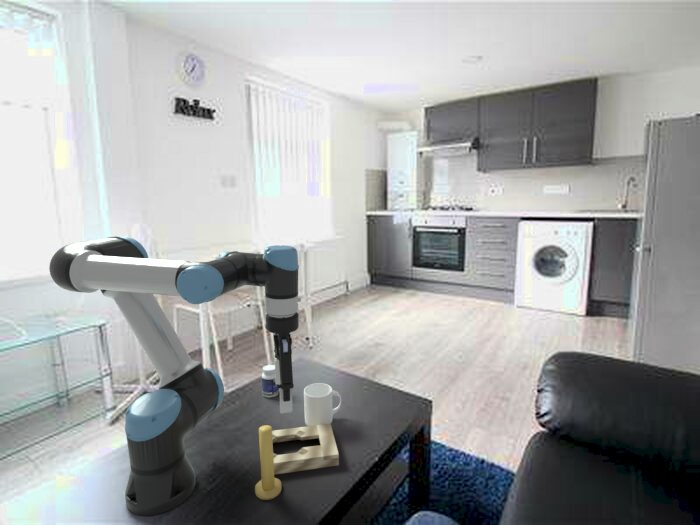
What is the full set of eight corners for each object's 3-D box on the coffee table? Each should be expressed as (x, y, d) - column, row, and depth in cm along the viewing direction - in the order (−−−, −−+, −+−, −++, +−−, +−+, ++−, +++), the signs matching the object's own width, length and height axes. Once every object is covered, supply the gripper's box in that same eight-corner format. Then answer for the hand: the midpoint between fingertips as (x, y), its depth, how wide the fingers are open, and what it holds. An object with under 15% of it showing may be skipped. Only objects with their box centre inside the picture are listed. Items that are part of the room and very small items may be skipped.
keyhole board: (266, 475, 101) (265, 464, 100) (266, 441, 114) (265, 431, 114) (338, 465, 105) (338, 454, 104) (330, 433, 118) (330, 423, 117)
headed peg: (254, 501, 93) (251, 438, 90) (255, 482, 99) (252, 423, 96) (282, 497, 94) (279, 435, 91) (281, 478, 100) (278, 419, 97)
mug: (347, 423, 123) (346, 390, 121) (310, 433, 118) (309, 399, 116) (336, 409, 131) (335, 378, 129) (301, 418, 126) (300, 386, 124)
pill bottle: (277, 398, 138) (276, 371, 136) (260, 398, 138) (259, 371, 136) (280, 389, 143) (279, 363, 142) (264, 389, 144) (263, 363, 142)
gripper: (306, 330, 82) (306, 424, 86) (292, 297, 106) (292, 371, 110) (269, 333, 80) (271, 428, 84) (263, 298, 104) (264, 374, 108)
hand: (283, 396), depth 97 cm, fingers open, 13 cm apart
